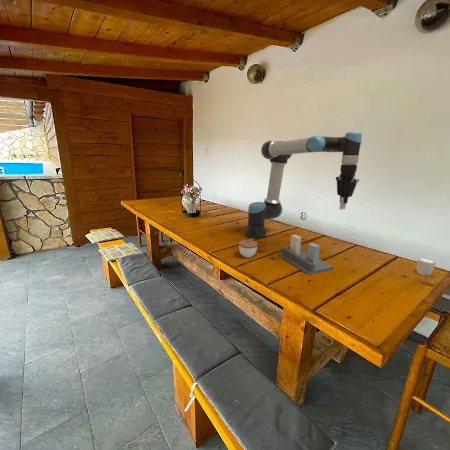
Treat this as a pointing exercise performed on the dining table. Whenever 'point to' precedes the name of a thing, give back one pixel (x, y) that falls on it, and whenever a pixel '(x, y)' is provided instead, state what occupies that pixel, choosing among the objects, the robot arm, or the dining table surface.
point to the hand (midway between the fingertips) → (342, 208)
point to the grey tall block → (313, 253)
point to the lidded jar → (248, 248)
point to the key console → (304, 261)
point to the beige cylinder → (425, 266)
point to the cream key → (295, 244)
